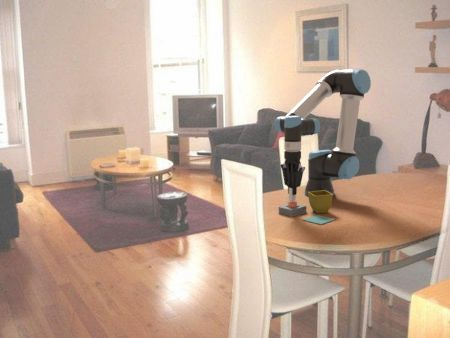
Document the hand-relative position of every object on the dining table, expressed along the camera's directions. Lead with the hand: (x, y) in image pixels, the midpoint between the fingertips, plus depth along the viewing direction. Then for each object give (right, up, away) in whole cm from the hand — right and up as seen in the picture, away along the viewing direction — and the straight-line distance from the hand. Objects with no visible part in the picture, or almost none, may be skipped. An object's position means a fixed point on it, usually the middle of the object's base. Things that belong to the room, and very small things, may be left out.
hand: (292, 201), depth 243 cm
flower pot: (+13, -5, +2) cm, 14 cm away
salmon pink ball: (0, -4, +1) cm, 4 cm away
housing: (0, -5, +1) cm, 5 cm away
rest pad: (+10, -8, -11) cm, 17 cm away
